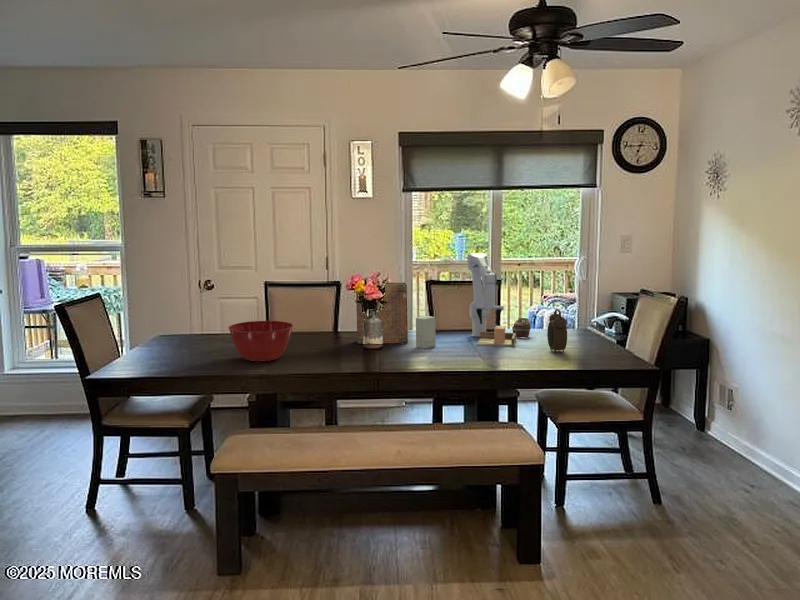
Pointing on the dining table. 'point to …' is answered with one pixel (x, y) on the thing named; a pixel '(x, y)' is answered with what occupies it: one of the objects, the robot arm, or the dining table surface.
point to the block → (499, 334)
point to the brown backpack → (557, 332)
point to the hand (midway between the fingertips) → (488, 324)
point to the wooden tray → (488, 339)
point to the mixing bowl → (261, 339)
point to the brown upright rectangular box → (389, 315)
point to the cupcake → (521, 327)
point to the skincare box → (425, 332)
